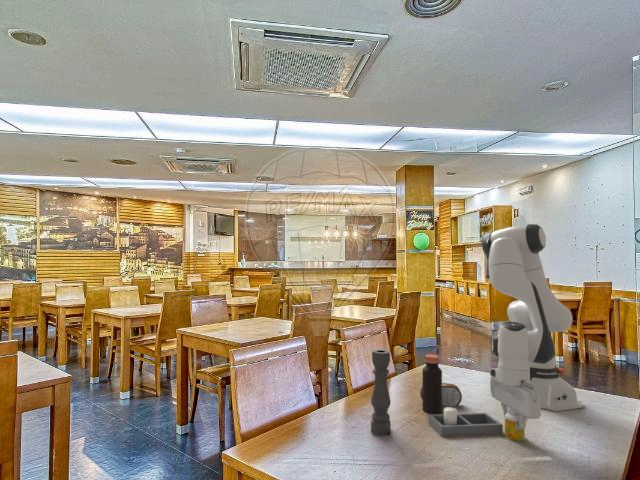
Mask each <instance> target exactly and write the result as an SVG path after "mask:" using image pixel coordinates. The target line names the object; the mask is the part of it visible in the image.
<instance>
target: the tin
mask: <svg viewBox="0 0 640 480" xmlns="http://www.w3.org/2000/svg"><path fill="white" fill-rule="evenodd" d="M419 395H420V399H421V400H422V401H423V385H422V386H421V388H420V390H419ZM462 399H463V395H462V392H461V390H460V388H459V386H457V385H456V384H454V383H448V382H444V383H443V382H442V407H452V406H453V407H454V406H455V407H457V406H459V405H460V404H461V402H462Z"/></svg>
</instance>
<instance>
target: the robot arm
mask: <svg viewBox="0 0 640 480" xmlns="http://www.w3.org/2000/svg"><path fill="white" fill-rule="evenodd" d="M546 235H547V234H546V233H545V231H544V229H543V228H542V227H541V226H540V225H539V224H535V223H531V224H530V223H528V224H526V225H525V224H524V225H515V226H509V227H506V228H505V227H504V228H502V229H497V230H492V231H489V232H486V233H485V234H484V235H483V236H482V238H481V248H482V251H483V253H484V255H485V256H487V257H488V276H489V280H490V281H489V282H490V284H491V286H492V287H493V288H494V289H495V290H497V291H498V292H500V293H501V294H504V295H506V296H508V297H511V298H515V299H516V300H513V301H512V302H510V303H509V304H508V307H507V311H506V313H507V314H506V315H507V318H508V320H509V321H504V322H501V323H500V324H499V327H498V329H497V330H496V331H494V332H493V333H492V334H491V336H490V337H491V351H490V352H491V353H493V355H495V357H497V358H498V363H497V367H495V368H490V369H489V375H490V380H489V381H490V382H489V385H490V386H489V387H490V394H491V397H492V398H494V399H495V400H497V401H499V402H500V405H501V408H502V411H503V417H504V418H505V414H506V413H508V412H507V406H508V407H510V408H512V409H514V410H515V411H517V412H519V416H520V419H519V420H517V426H519V427H520V428H524V429H526V428H527V425H526V424H527V423H526V422H527V421H528V419H529V420H535V419H540V418H541V416H542V409H545V410H549V411H554V412H561V411H568V410H574V409H582V408H581V407H583V408H585V403H584V402H582V400H579V399H578V396H577V392H576V390H575V388H574V386H572V385H571V384H569V383H568V382H567V381H566V380H564V379H563V378H562V377H560V374H561V375H565V374H566V369H565V368H562V367H559V368H558V367H557V366H556V345H555V343H554V340H553V336H552V335H551V333H562V332H567V331H568V330H569V329H570V328H571V326H572V324H573V315H572V314H573V313H572V312H571V310H570V309H569V308H568V307H567V306H566V305H564V304H563V303H562V302H560V301H559V299H558V298H557V297H556V296H555V294H554V293H553V292H552V290H551V288H550V287H549V284H548V282H547V278H546V275H545V271H544V267H543V263H542V260H541V257H540V254H539V253H540V252H541V251H543V250H544V249H545V247H546V242H547V236H546Z"/></svg>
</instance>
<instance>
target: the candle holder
mask: <svg viewBox="0 0 640 480" xmlns="http://www.w3.org/2000/svg"><path fill="white" fill-rule="evenodd" d="M371 361H372V364H373V366H374V368H373V369H372V373H373V374H374V387H373V389H372V390H373V391H372V395H371V399H370V400H371V402H370V403H371V406H372V407H373V410H374V412H372V414H371V420H370V432H371V434H373V435H375V436H379V437H385V436H390V434H391V429H392V428H391V424H392V423H391V420H390V418H391V417H390V415H389V413H388V411H389V410H388V409H389V408H390V406H391V403H392V402H391V396H390V393H389V388H388V387H389V386H388V375H389V374H390V371H389V369H388V367H389V366H390V363H391V352H390V350H387V349H372V351H371Z"/></svg>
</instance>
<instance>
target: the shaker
mask: <svg viewBox="0 0 640 480" xmlns="http://www.w3.org/2000/svg"><path fill="white" fill-rule="evenodd" d="M443 414H444V426H447V425H457V414H458V409H457V408H454V407H452V406H445V407H444V408H443Z"/></svg>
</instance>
